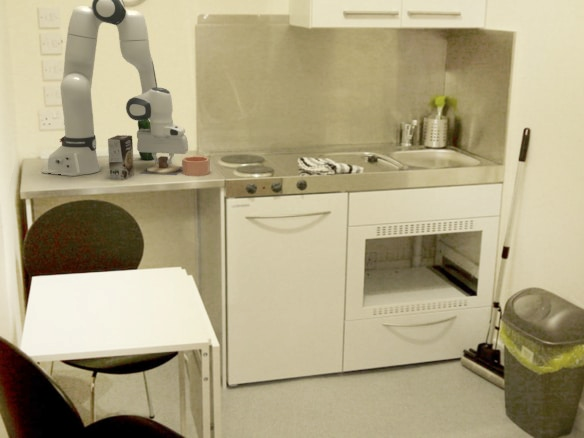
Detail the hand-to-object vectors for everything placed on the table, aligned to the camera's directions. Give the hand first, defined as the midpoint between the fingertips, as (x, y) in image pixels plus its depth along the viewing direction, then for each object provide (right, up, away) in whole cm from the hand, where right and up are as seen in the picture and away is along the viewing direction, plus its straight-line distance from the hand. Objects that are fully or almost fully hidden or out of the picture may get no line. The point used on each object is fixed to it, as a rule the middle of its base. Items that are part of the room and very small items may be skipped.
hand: (163, 163), depth 299 cm
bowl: (+14, -4, -3) cm, 14 cm away
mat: (0, -3, +1) cm, 3 cm away
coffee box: (-14, -7, -11) cm, 19 cm away
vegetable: (-10, +3, +21) cm, 23 cm away
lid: (0, -2, +1) cm, 2 cm away
